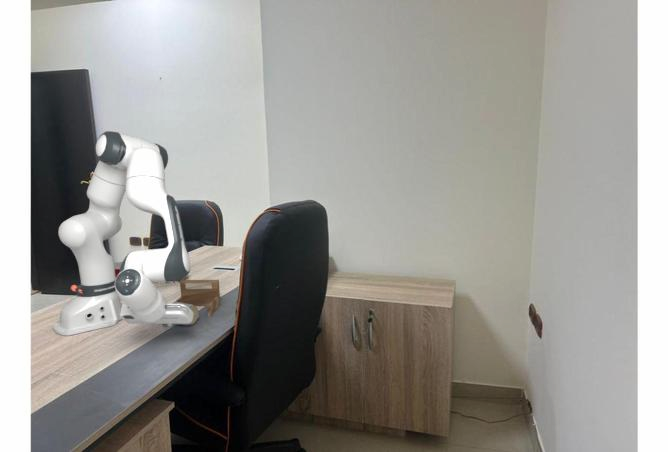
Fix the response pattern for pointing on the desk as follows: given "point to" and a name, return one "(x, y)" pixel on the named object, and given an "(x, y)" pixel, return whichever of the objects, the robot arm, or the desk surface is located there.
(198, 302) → the display bay
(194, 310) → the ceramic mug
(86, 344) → the desk surface
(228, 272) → the desk surface
